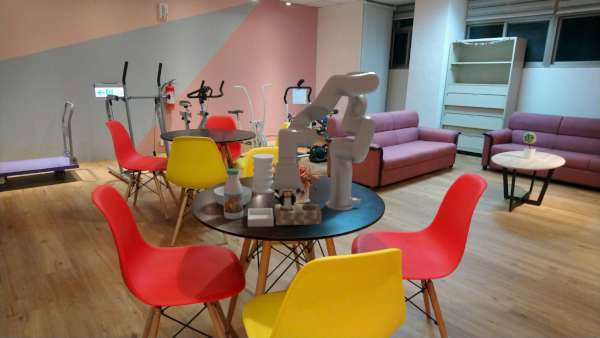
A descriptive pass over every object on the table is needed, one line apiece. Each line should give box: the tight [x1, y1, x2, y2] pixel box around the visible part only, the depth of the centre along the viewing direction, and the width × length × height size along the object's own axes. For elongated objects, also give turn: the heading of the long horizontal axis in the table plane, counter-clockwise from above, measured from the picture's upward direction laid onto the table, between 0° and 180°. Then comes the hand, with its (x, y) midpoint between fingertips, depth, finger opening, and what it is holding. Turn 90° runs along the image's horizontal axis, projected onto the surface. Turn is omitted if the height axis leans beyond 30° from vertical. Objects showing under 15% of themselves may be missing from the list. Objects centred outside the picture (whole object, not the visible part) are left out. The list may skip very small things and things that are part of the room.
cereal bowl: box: [213, 185, 253, 207], centre depth 166 cm, size 17×17×7 cm
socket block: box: [274, 203, 323, 226], centre depth 151 cm, size 18×10×6 cm, turn 97°
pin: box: [282, 189, 293, 211], centre depth 150 cm, size 4×4×12 cm
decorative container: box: [251, 153, 275, 195], centre depth 187 cm, size 12×12×18 cm
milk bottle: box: [223, 168, 244, 220], centre depth 151 cm, size 8×8×20 cm
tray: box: [247, 207, 275, 228], centre depth 150 cm, size 10×12×3 cm
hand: (287, 204), depth 150 cm, fingers closed on pin, 4 cm apart
